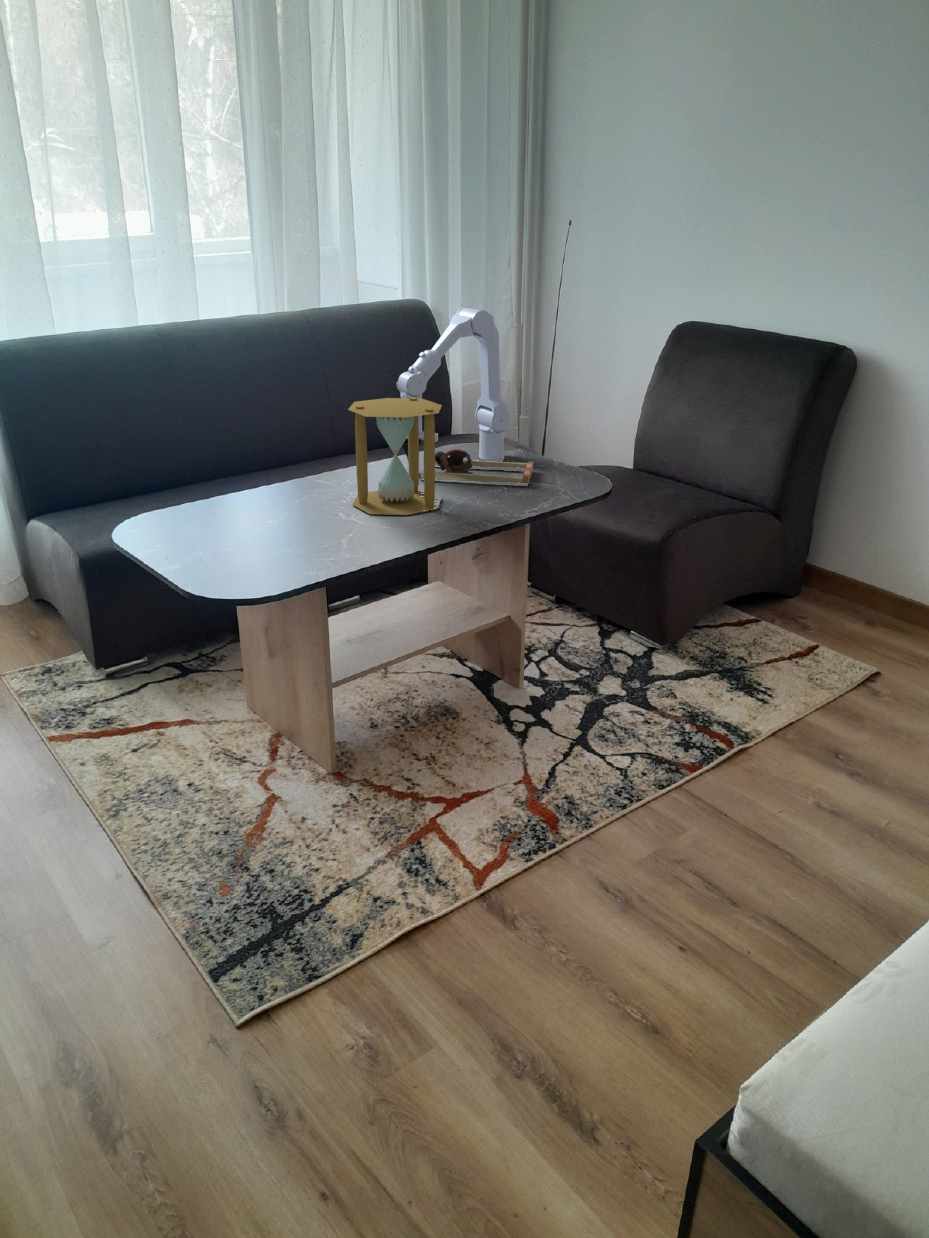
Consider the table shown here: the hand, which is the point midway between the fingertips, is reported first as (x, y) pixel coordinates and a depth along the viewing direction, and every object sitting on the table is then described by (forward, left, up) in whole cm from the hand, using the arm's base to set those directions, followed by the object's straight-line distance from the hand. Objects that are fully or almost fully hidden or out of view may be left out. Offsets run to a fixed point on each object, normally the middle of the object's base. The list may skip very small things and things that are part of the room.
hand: (412, 465), depth 264 cm
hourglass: (+27, +2, -2) cm, 28 cm away
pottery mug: (-1, +12, -3) cm, 12 cm away
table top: (0, +18, -2) cm, 18 cm away
